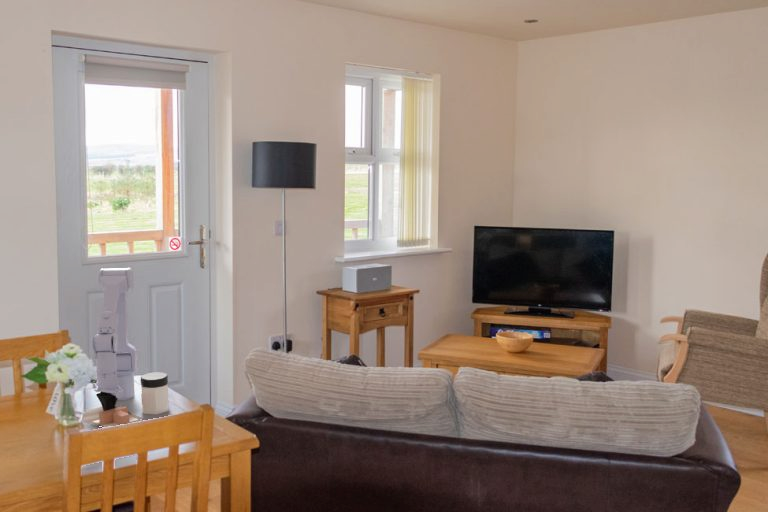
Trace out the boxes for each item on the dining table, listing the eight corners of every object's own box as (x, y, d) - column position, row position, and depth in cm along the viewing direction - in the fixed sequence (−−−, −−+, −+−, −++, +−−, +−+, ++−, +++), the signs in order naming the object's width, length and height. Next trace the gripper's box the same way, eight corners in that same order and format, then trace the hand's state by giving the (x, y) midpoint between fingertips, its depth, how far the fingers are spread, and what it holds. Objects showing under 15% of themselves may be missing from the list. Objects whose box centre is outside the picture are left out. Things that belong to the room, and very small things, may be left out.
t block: (99, 422, 239) (99, 412, 238) (123, 415, 245) (123, 405, 244) (113, 428, 234) (113, 418, 233) (137, 421, 239) (137, 411, 239)
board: (71, 418, 245) (71, 414, 245) (110, 407, 255) (110, 404, 254) (105, 434, 232) (105, 430, 232) (144, 422, 242) (144, 418, 241)
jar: (142, 409, 253) (140, 372, 251) (168, 406, 255) (167, 370, 253) (142, 418, 244) (140, 381, 243) (169, 416, 247) (168, 378, 245)
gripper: (82, 370, 242) (85, 413, 244) (107, 380, 233) (109, 424, 235) (103, 365, 247) (106, 407, 249) (128, 374, 238) (131, 418, 240)
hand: (109, 415), depth 242 cm, fingers closed
